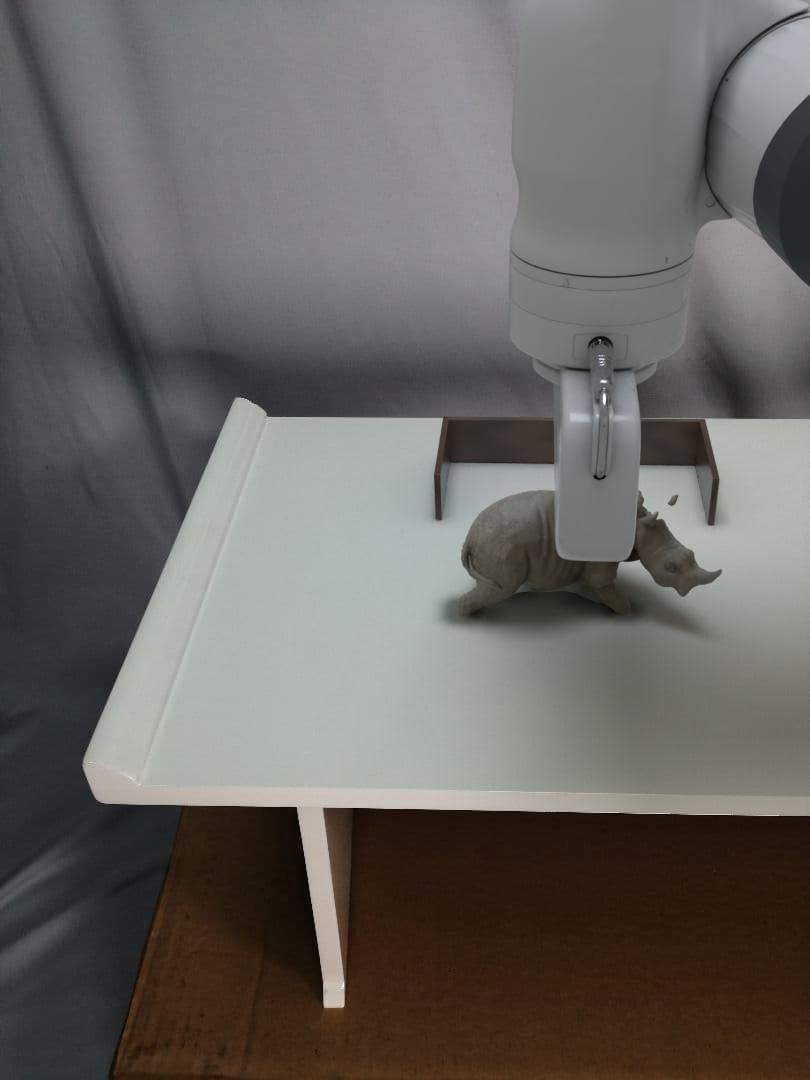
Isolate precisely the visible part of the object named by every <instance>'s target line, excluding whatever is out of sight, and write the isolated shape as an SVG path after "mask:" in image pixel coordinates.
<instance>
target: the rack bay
mask: <svg viewBox="0 0 810 1080" xmlns="http://www.w3.org/2000/svg"><path fill="white" fill-rule="evenodd" d="M640 420H641V452H640V465H659V466H660V465H662V466H663V465H669V466H670V465H671V466H673V465H674V466H677V465H678V466H694V467H695V472H696V476H697V481H698V486H699V490H700V495H701V499H702V505H703V510H704V514H705V519H706V524H707V525H715V521H716V512H717V504H718V497H719V487H720V475H719V470H718V467H717V462H716V459H715V454H714V450H713V446H712V442H711V438H710V434H709V429H708V424H707V421H706V418H653V417H652V418H648V417H647V418H645V417H643V418H642V417H640ZM435 459H436V460H435V464H434V467H435V468H434V472H433V486H434V487H433V489H434V491H433V492H434V515H435V516H434V517H435V520H443V513H444V507H445V498H446V492H447V486H448V485H447V484H448V477H449V470H450V463H506V464H507V463H511V464H512V463H513V464H514V463H516V464H517V463H518V464H520V463H521V464H522V463H523V464H554V417H542V416H541V417H538V416H536V417H535V416H534V417H533V416H532V417H531V416H530V417H529V416H526V417H525V416H522V417H521V416H443V417H442V421H441V427H440V435H439V441H438V446H437V452H436V458H435Z"/></svg>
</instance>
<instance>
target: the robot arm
mask: <svg viewBox="0 0 810 1080" xmlns="http://www.w3.org/2000/svg"><path fill="white" fill-rule="evenodd" d="M521 17H522V18H521V24H520V30H519V35H518V37H519V38H518V44H517V51H516V61H515V70H514V71H515V72H514V82H513V83H514V84H513V95H512V96H513V97H512V114H511V141H510V142H511V143H510V144H511V145H510V149H511V160H512V165H513V169H514V172H515V176H516V179H517V189H518V201H517V207H516V208H517V209H516V214H515V217H514V220H513V223H512V226H511V229H510V235H509V250H508V251H509V252H508V254H509V255H508V256H509V257H508V262H509V263H508V307H507V310H508V314H507V315H508V316H507V335H508V338H509V339H510V342H512V344H513V345H514V346H515V347H516V348H517V349H518V350H520V351H521V352H523V353H524V354H526V355H528V356H529V357H531V365H532V368H533V370H534V371H535V372H536V373H537V374H538V375H539V376H540V377H541V378H543V379H545V380H547V381H549V382H550V383H552V384H553V386H552V388H553V418H554V463H553V472H554V474H553V478H554V479H553V482H554V483H553V484H554V486H553V489H554V490H553V491H554V497H555V544H556V550H557V553H558V555H559V556H560V557H561V558H563V559H567V560H576V561H606V562H614V561H623V560H626V559H627V558H628V557H629V556H630V554H631V551H632V549H633V545H634V539H635V528H636V515H637V501H638V490H639V485H640V467H641V464H640V452H641V420H640V418H641V411H640V402H639V396H638V389H637V385H639V384H642V383H643V382H645V381H647V380H648V379H649V378H651V377H652V376H653V375H654V374H655V372H656V371H657V368H658V362H659V361H662V360H664V359H667V358H668V357H670V356H672V355H674V354H675V353H676V352H677V351H678V350H680V348H681V347H682V346H683V344H684V343H685V341H686V340H685V339H686V335H687V326H688V316H689V306H690V305H689V304H690V297H691V289H692V280H693V269H694V260H695V251H696V242H697V241H696V240H697V236H698V234H699V232H700V230H701V229H702V227H704V226H705V225H706V224H708V223H710V222H713V221H724V220H726V221H727V220H732V219H735V220H736V221H737V222H739V224H741V225H743V226H744V227H745V228H747V229H748V230H750V232H753V233H754V234H755V235H757V236H758V237H759V238H761V239H762V240H764V241H765V243H766V244H767V246H768V247H769V248H770V249H771V250H772V251H773V252H774V253H775V254H776V256H778V257H779V258H780V259H781V260H782V261H783V262H784V263H785V264H786V265H787V267H788V268H789V269H790V270H791V271H792V272H793V273H794V274H795V275H796V276H797V277H798V278H799V279H800V280H801V281H802V282H803V283H804V284H805V285H807V286H808V287H809V288H810V3H808V2H806V1H803V0H526V1H525V5H524V8H523V12H522V16H521Z"/></svg>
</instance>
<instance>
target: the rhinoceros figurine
mask: <svg viewBox="0 0 810 1080" xmlns="http://www.w3.org/2000/svg"><path fill="white" fill-rule="evenodd" d="M678 498H679V494H677V493H676V494H674V495H672V496H671V498H670V500H669V501H668V502H667V505H669V506H671V507H673V506H675V505H676V503H677V501H678ZM644 503H645V498H644V496H643V493H642V491H641V490H639V489H638V501H637V515H636V528H635V539H634V545H633V549H632V551H631V554H630V556H629V557H628V558H627V559H626V560H623V561H614V562H606V561H576V560H567V559H563V558H561V557H560V556H559V555H558V553H557V550H556V544H555V497H554V490H552V489H551V490H550V489H549V490H548V489H538V490H527V491H522V492H518V493H515V494H511V495H509V496H505V497H503V498H500V499H499V500H496V501H495V502H493V503H491V504H490V505H488V506H487V507H485V508H484V509H482V510H481V511H480V512H479V513H478V514H477V516H476V517H475V519H473V521H472V524H471V525H470V527H469V529H468V532H467V534H466V537H465V540H464V542H463V544H462V549H461V550H460V553H461V555H460V560H461V565H462V567H463V568H464V569H465V571H466V572H467V574H468V575H469V577H471V578H472V579H473V580H474V581H475V585H476V586H475V587H474V588H472V589H471V590H469V591H468V592H466V593H464V594H462V595H461V596H460V597H459V600H458V603H457V609H456V612H457V614H458V615H460V616H463V617H470V616H473V614H475V613H476V611H478V610H480V609H484V608H486V607H489V606H494V605H497V604H499V603H501V602H504V601H506V600H507V599H509V598H510V597H512V596H514V595H516V594H519V593H524V592H525V593H526V592H532V593H533V592H536V593H551V592H552V593H553V592H554V593H555V592H569V593H573V594H576V595H578V596H580V597H581V598H585V599H587V600H590V601H592V602H594V603H597V604H603V605H604V604H605V605H606V606H607V607H608V608H609V609H611V610H612V611H613V612H615V613H616V614H618V615H628V614H630V613H631V612H632V607H631V604H630V601H629V599H628V598H627V596H626V595H625V594H624V593H623V591H622V590H621V591H620V589H618V587H617V583H616V581H615V580H616V579H617V577H618V569H619V566H620V563H633V562H638V561H639V562H640V564H641V566H642V567H643V568H644V569H645V570H646V571H647V572H648V574H650V576H651V578H652V579H653V581H654V583H655V584H657V585H658V586H659V587H662V588H672V589H674V591H676V592H677V594H678V595H679V596H680V597H681V598H684V597H687V595H688V594H689V592H691V590H692V589H694V588H697V587H698V586H706V585H709V584H712V583H713V582H715V580H717V578H719V577H720V576H721V575H722V574H723V569H722V568H719V569H717V570H715V571H708V570H706V569H704V568H702V567H700V566H699V564H698V562H697V561H696V560H697V559H696V558H695V557H696V556H695V552H694V551H693V550H692V549H690V548H687V547H686V546H685V545H684V544H683V543H681V541H679V540H678V539H677V538H676V537H675V535H674V534H673V533H672V531H670V529H669V526H667V522H666V521H665V520H664V518H658V517H659V514H660V511H655V512H653V513H652V512H651V511H648V509H647V508H646V507H645V506H644Z"/></svg>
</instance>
